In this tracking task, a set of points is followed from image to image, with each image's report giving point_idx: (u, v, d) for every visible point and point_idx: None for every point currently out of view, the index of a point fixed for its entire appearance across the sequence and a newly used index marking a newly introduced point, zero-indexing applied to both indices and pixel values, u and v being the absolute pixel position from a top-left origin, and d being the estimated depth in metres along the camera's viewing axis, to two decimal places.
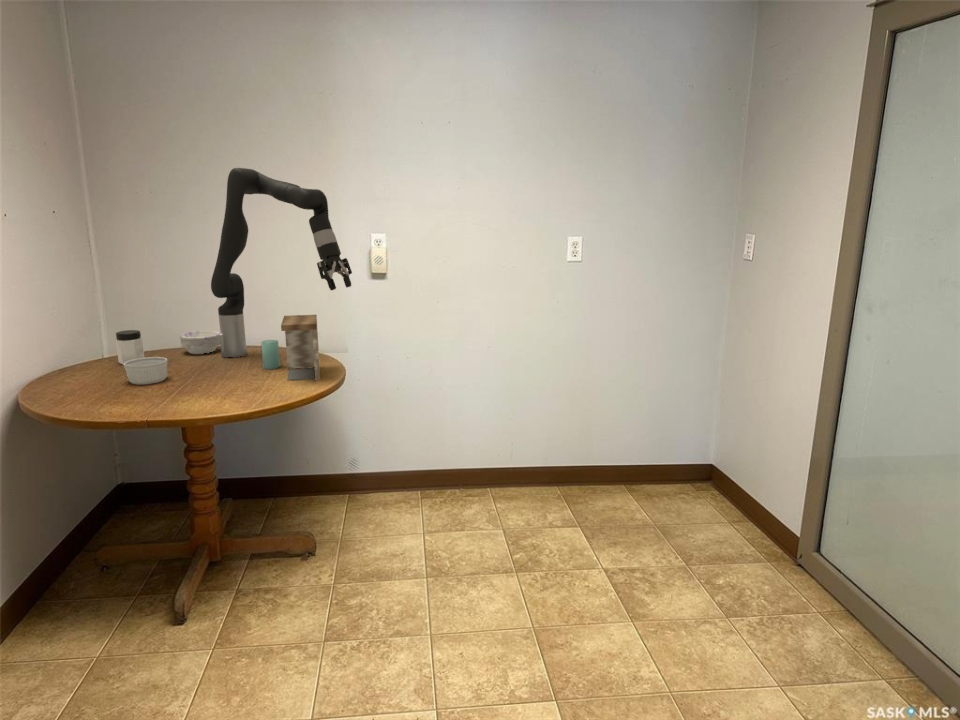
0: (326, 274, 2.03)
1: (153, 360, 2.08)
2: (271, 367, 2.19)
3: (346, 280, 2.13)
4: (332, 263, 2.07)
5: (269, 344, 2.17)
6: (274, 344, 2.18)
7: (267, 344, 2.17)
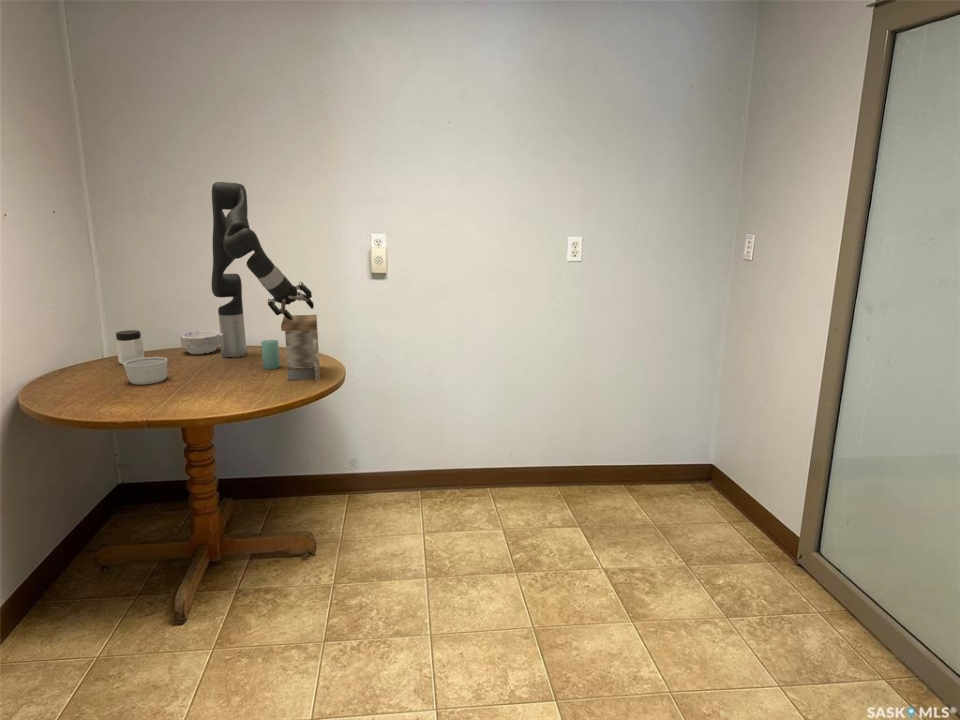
0: (276, 313, 2.03)
1: (153, 360, 2.08)
2: (271, 367, 2.19)
3: None
4: (281, 300, 2.00)
5: (269, 344, 2.17)
6: (274, 344, 2.18)
7: (267, 344, 2.17)
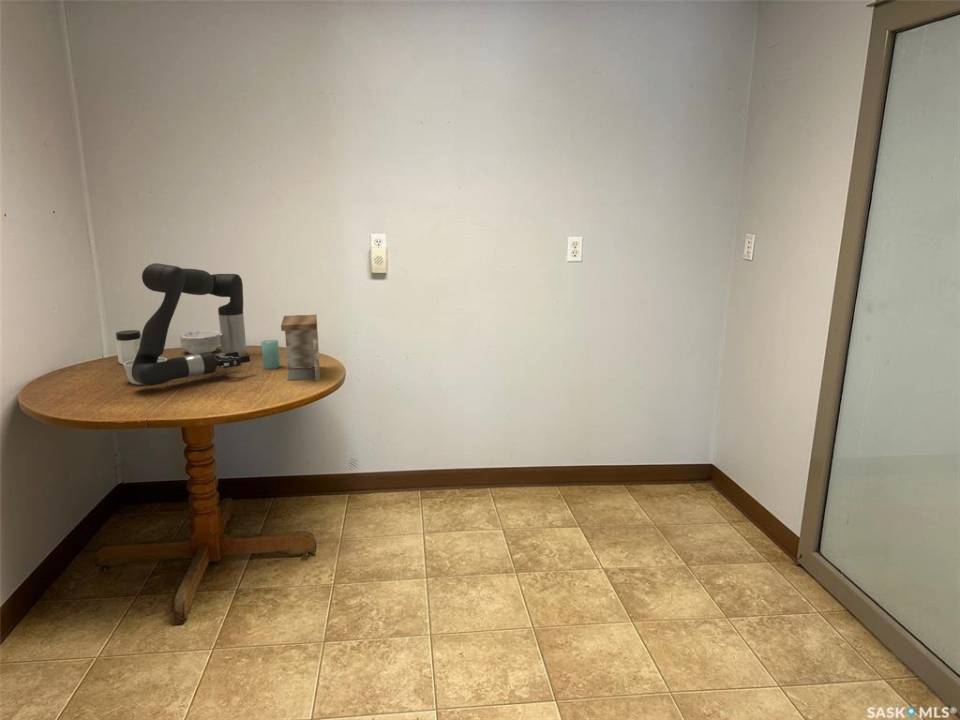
0: None
1: None
2: (271, 367, 2.19)
3: None
4: None
5: (269, 344, 2.17)
6: (274, 344, 2.18)
7: (267, 344, 2.17)
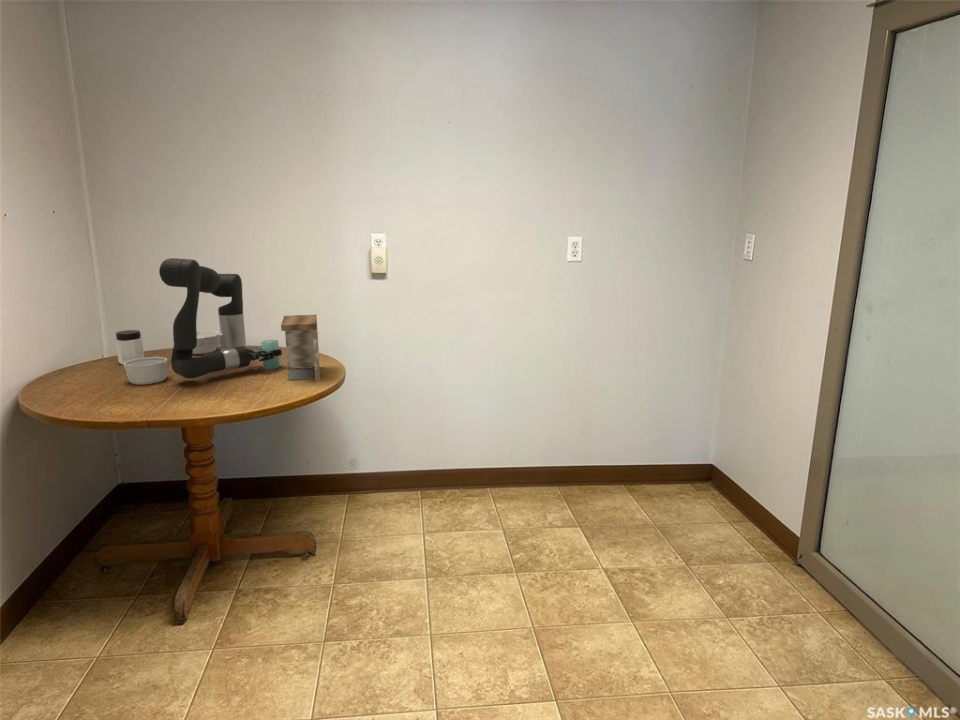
0: None
1: (153, 360, 2.08)
2: (271, 367, 2.19)
3: None
4: None
5: (269, 344, 2.17)
6: (274, 344, 2.18)
7: (267, 344, 2.17)
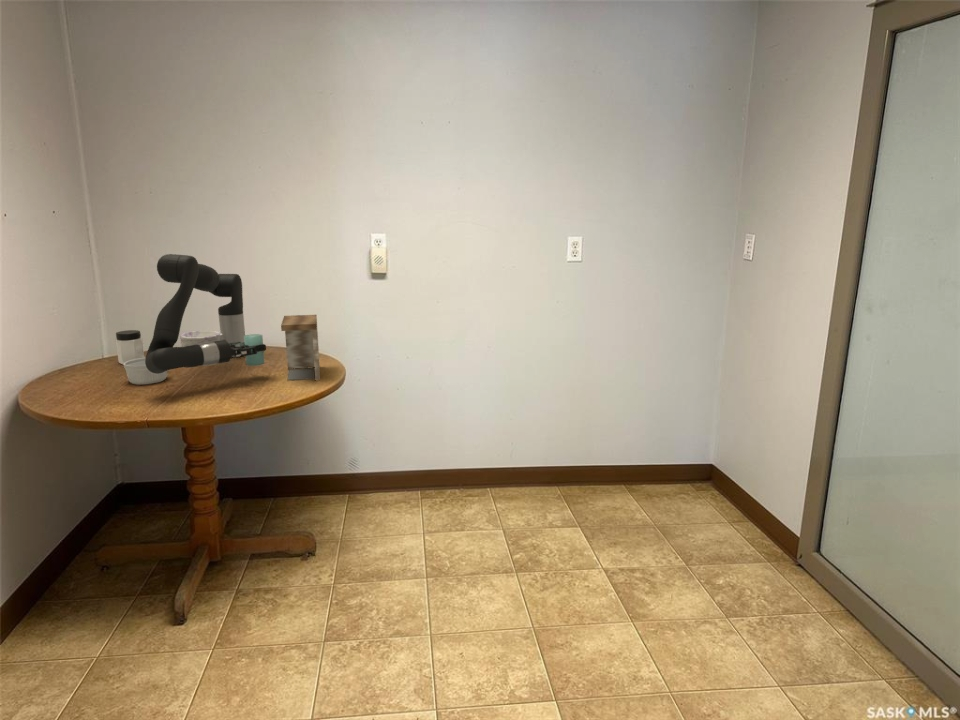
0: None
1: None
2: (254, 363, 2.03)
3: None
4: None
5: (252, 338, 2.02)
6: (258, 338, 2.03)
7: (250, 338, 2.01)
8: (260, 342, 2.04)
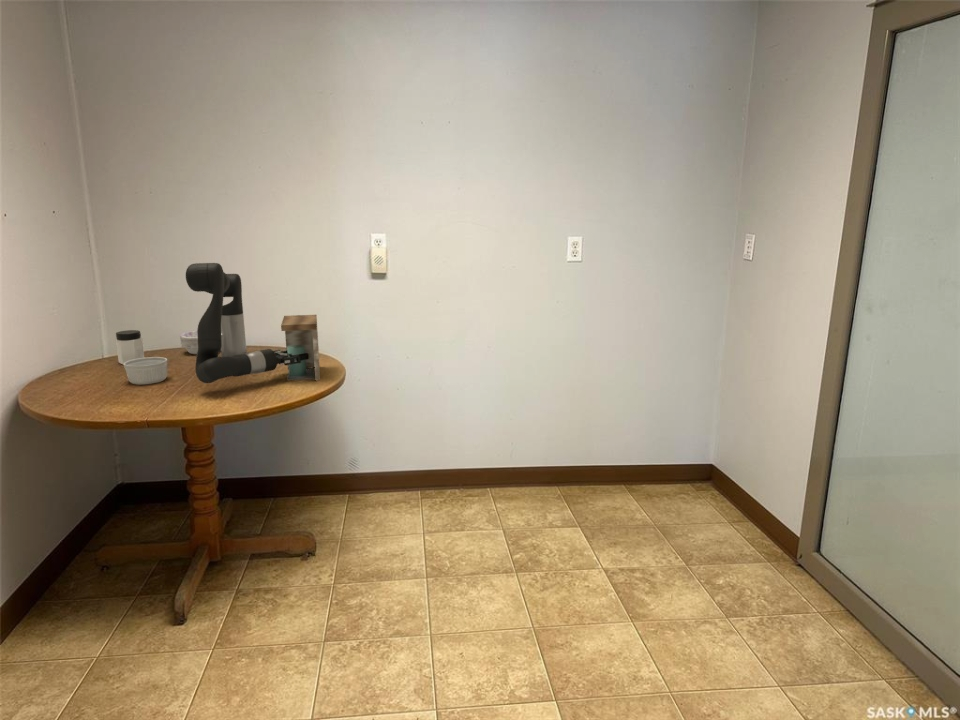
0: None
1: (153, 360, 2.08)
2: (297, 374, 2.08)
3: None
4: None
5: (296, 350, 2.06)
6: (301, 350, 2.07)
7: (293, 350, 2.06)
8: None
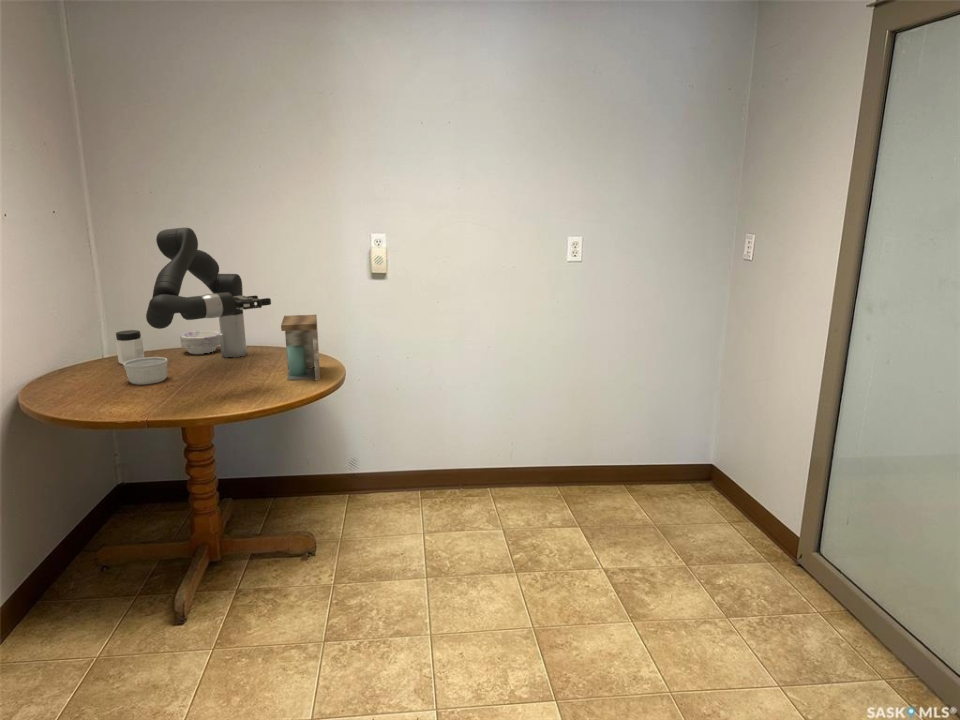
0: None
1: (153, 360, 2.08)
2: (297, 374, 2.08)
3: None
4: None
5: (295, 350, 2.06)
6: (301, 350, 2.07)
7: (293, 350, 2.06)
8: (303, 353, 2.08)
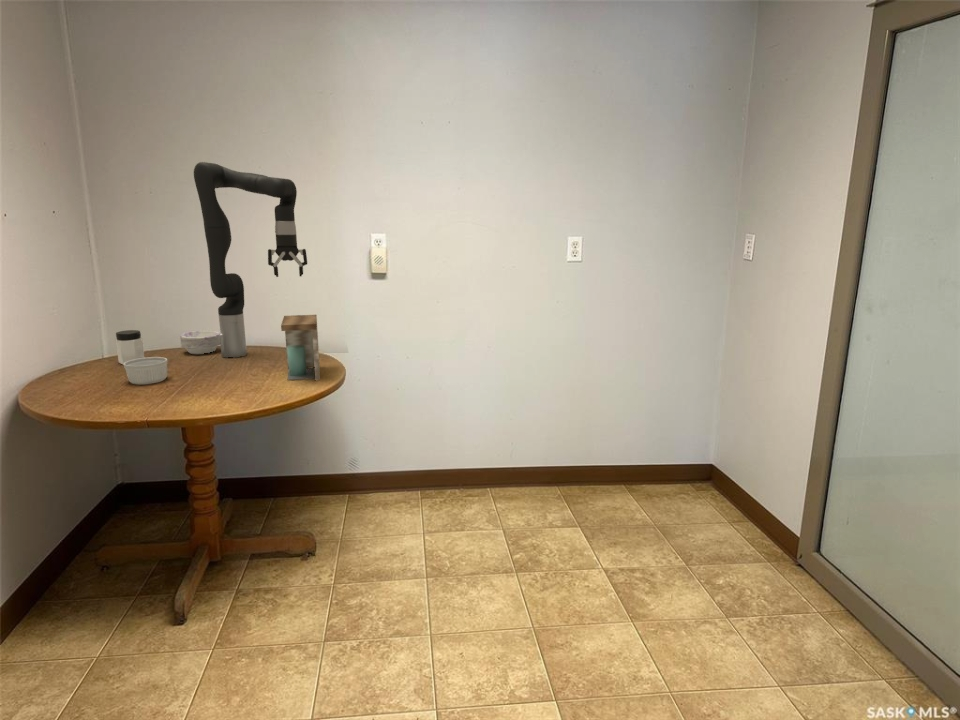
0: (269, 262, 2.22)
1: (153, 360, 2.08)
2: (297, 374, 2.08)
3: (299, 270, 2.26)
4: (281, 253, 2.22)
5: (295, 350, 2.06)
6: (301, 350, 2.07)
7: (293, 350, 2.06)
8: (303, 353, 2.08)
